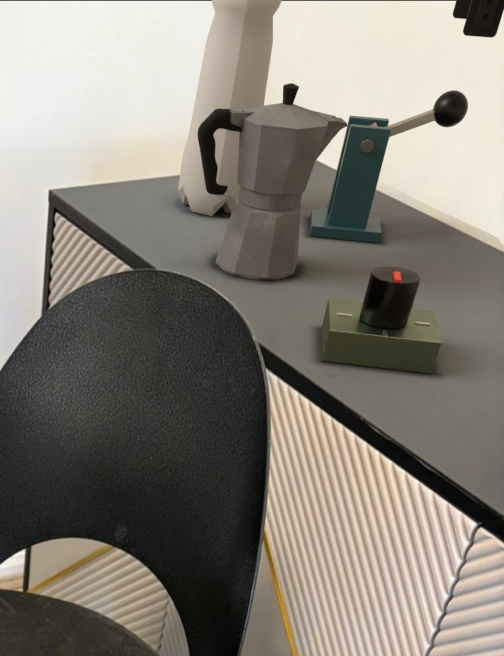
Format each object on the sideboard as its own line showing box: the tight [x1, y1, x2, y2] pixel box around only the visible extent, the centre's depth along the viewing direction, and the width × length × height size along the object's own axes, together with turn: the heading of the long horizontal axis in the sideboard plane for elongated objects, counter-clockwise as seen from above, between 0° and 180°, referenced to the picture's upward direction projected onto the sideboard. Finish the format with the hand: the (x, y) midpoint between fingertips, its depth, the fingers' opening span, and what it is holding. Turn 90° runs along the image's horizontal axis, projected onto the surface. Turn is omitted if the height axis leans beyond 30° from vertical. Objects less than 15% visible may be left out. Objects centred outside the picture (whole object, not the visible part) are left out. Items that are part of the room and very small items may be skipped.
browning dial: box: [360, 265, 421, 329], centre depth 104 cm, size 4×4×4 cm
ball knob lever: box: [367, 89, 469, 138], centre depth 125 cm, size 12×4×4 cm, turn 77°
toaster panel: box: [320, 298, 442, 375], centre depth 106 cm, size 10×9×3 cm
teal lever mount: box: [309, 115, 391, 244], centre depth 130 cm, size 8×7×12 cm
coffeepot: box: [197, 82, 348, 281], centre depth 118 cm, size 15×9×18 cm, turn 93°
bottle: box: [177, 0, 282, 217], centre depth 129 cm, size 9×9×30 cm
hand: (472, 26), depth 116 cm, fingers open, 9 cm apart
